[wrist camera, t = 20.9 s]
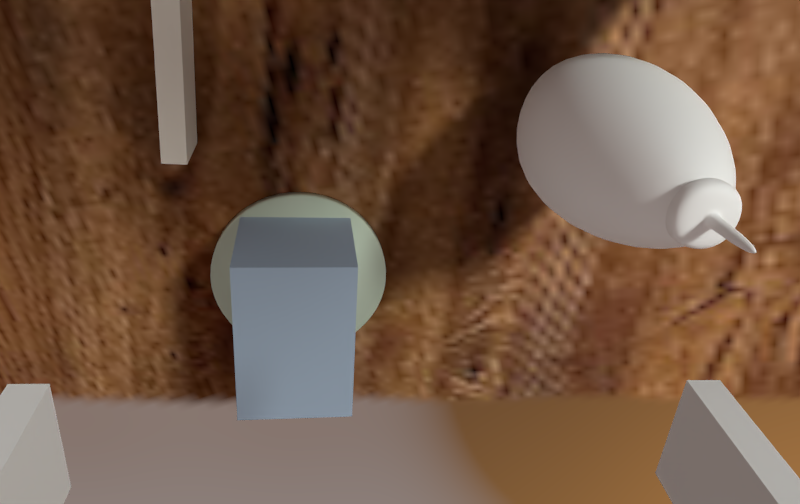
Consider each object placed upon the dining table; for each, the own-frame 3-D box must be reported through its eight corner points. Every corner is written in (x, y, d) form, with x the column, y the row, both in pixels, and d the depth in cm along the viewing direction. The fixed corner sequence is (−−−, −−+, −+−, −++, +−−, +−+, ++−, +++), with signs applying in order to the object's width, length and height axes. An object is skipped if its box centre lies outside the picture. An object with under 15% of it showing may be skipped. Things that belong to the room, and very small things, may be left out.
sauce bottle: (602, 185, 40) (803, 366, 24) (476, 163, 38) (601, 341, 22) (650, 51, 37) (921, 156, 21) (515, 21, 35) (695, 109, 19)
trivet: (209, 188, 37) (207, 193, 36) (391, 195, 38) (393, 200, 38) (214, 342, 41) (212, 350, 40) (377, 343, 43) (379, 350, 42)
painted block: (240, 216, 37) (229, 267, 32) (350, 217, 38) (358, 267, 32) (246, 354, 41) (237, 420, 35) (345, 352, 42) (351, 416, 36)
